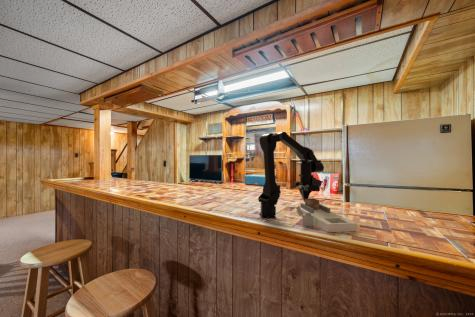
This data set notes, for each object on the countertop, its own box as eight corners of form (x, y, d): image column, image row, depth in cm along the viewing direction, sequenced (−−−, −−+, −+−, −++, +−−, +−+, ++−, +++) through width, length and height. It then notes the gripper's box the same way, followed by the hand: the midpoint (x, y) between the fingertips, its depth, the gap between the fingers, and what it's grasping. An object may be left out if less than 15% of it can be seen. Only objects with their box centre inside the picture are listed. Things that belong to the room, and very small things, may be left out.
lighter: (313, 225, 85) (313, 206, 85) (313, 226, 84) (313, 207, 84) (295, 223, 88) (295, 204, 88) (295, 224, 86) (295, 205, 86)
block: (309, 210, 99) (309, 200, 99) (304, 207, 104) (305, 198, 104) (319, 209, 99) (319, 200, 99) (314, 207, 104) (314, 198, 104)
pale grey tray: (327, 232, 77) (327, 219, 77) (296, 212, 105) (296, 202, 105) (356, 230, 79) (356, 218, 79) (318, 211, 107) (318, 202, 107)
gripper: (330, 174, 100) (329, 205, 100) (311, 171, 119) (311, 198, 119) (308, 174, 99) (308, 206, 99) (293, 171, 117) (293, 198, 117)
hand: (305, 202), depth 108 cm, fingers closed
